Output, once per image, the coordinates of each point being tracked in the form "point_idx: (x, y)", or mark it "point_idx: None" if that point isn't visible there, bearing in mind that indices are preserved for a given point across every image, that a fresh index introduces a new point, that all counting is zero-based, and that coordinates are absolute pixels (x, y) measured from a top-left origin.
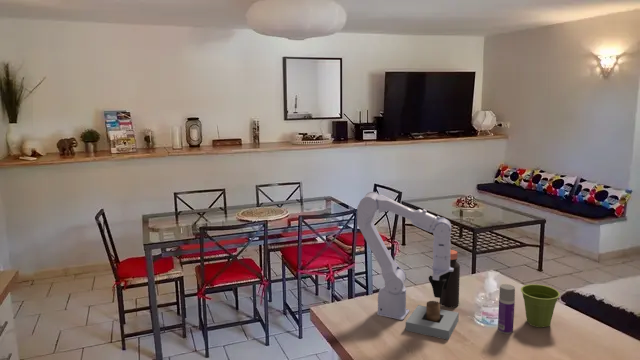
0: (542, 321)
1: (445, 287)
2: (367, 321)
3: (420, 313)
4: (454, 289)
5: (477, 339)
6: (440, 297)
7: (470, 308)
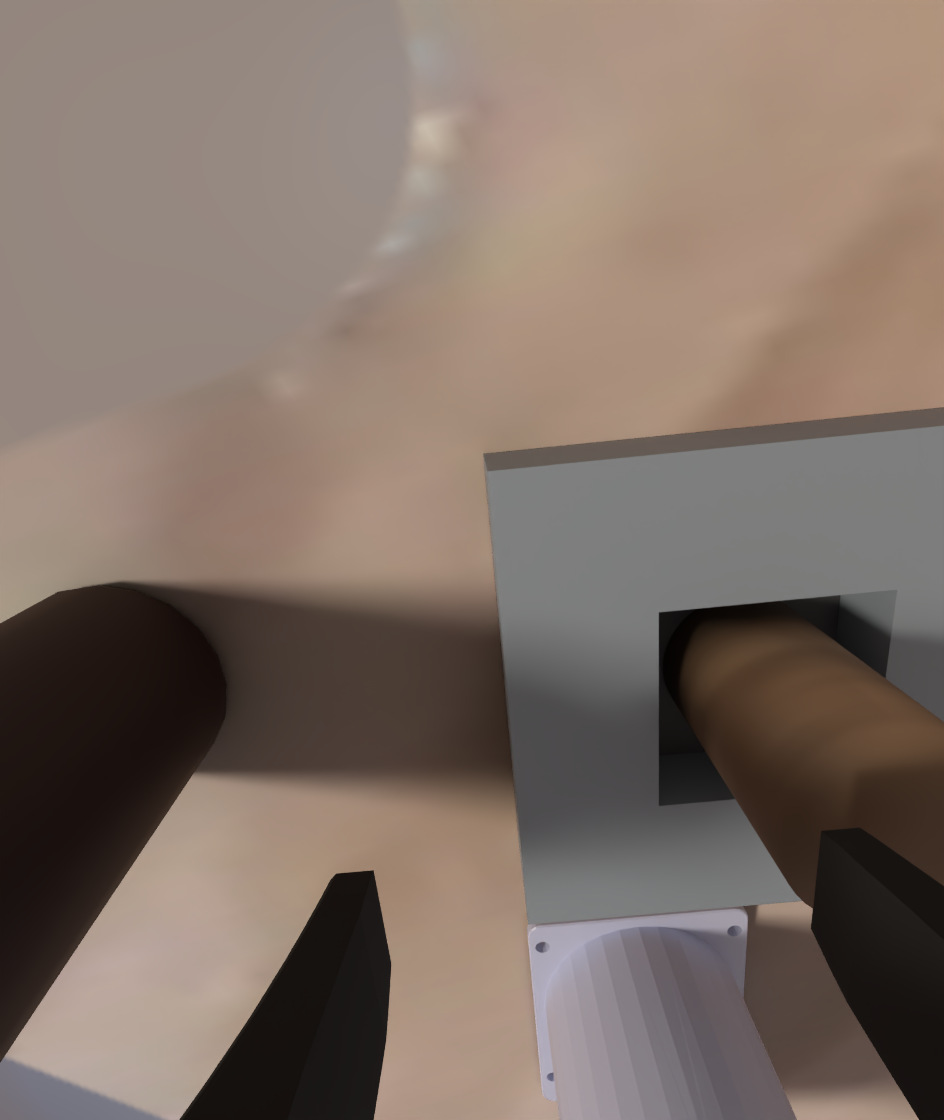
0: None
1: (366, 923)
2: (862, 1077)
3: (727, 839)
4: (18, 744)
5: (861, 74)
6: (875, 838)
7: (65, 432)
